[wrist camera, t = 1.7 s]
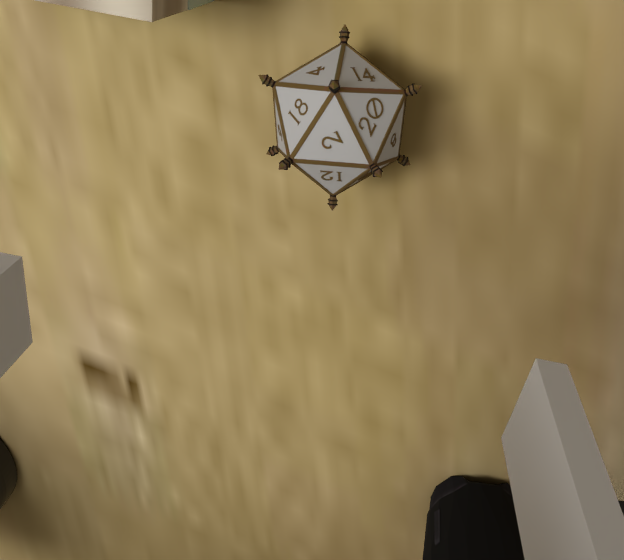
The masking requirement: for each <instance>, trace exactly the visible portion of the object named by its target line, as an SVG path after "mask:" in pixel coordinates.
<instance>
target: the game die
mask: <svg viewBox="0 0 624 560" xmlns="http://www.w3.org/2000/svg"><path fill="white" fill-rule="evenodd" d="M339 33H340V36H339V38H340V39H341V43H340V44H338V45H336V46H335V47H333V48H331V49H330V50H328V51H326V52H324V53H323V54H321V55H319V56H318V57H316V58H314V59H313V60H311V61H309V62H308V63H306V64H304V65H302V66H301V67H299V68H297V69H296V70H294V71H292V72H291V73H289V74H287V75H286V76H284V77H282V78H280V79H279V80H277V81H274V80H273V79H272V77H269V76H268V75H259V77H260V79H261V81H262V84H265V85H266V86H271V87H272V88H273V101H274V114H275V127H276V139H277V146H273V147H269V150H268V152H267V154H268V155H271V156H274V155H275V154H278V152H280V153H281V154H282V155H283V156H284V157H285V159H284V160H282V161H281V162H280V163H279V164H280V165H279V169H284V170H288V168H290V165H291V164H292V165H294V166H295V167H296V168H297V169H299V170H300V171H301V172H302V173H304V174H305V175H306V176H307V177H309V178H310V179H311V180H312V181H314V182H315V183H316V184H317V185H319V186H320V187H321V188H322V189H323V190H325V191H326V192H327V193H328V194H330V198H329V199H328V200H329V203H328V205H329V206H330V208H331V209H332V210H333V209H334V208H335V206H336V205H337V201H338V200H337V199H336V195H338V194H339V193H341V192H343V191H345V190H346V189H348V188H350V187H351V186H353V185H355V184H357V183H358V182H360V181H362V180H363V179H365V178H367V177H369V176H370V175H372V174H373V177H381V175H382V172H383V171H382V170H381V169H382V168H384V167H386V166H387V165H389V164H391V163H392V162H394V161H396V160H398V163H400V164H401V165H403V166H405V165H410V163H409V160H408V157H405V155H403V156H402V155H400V154H399V153H400V145H401V137H402V129H403V121H404V113H405V105H406V97H407V96H408V95H412V96H413V94H415V93H416V94H417V92H418V90H419V89H420V87H421V86H422V85H415V84H412V85H411V86H408V87H407V88H406V89H404V88H402V87H401V86H400V85H399V84H397V83H396V82H395V81H394V80H392V79H391V78H390V77H389V76H387V75H386V74H385V73H384V72H382V71H381V70H380V69H379V68H377V67H376V66H375V65H374V64H372V63H371V62H370V61H369V60H367V59H366V58H365V57H364V56H362V55H361V54H360V53H359V52H357V51H356V50H355V49H354V48H352V47H351V46H350V45H348V44H347V41H348V38H349V33H350V32H349V31H348V29H347V27H346V25H344V27H343V28H342V30H341V31H340V32H339Z"/></svg>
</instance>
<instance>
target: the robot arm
mask: <svg viewBox="0 0 624 560" xmlns="http://www.w3.org/2000/svg"><path fill="white" fill-rule="evenodd" d="M31 343H32V334H31V326H30V318H29V310H28V302H27V294H26V286H25V278H24V269H23V261H22V257H21V256H16V255H11V254H6V253H1V252H0V378H1V377H2V376H3V374H4V373H5V372H6V371H7V370H8V369H9V368H10V367H11V366H12V365H13V363H14V362H15V361H16V360H17V359H18V358H19V357H20V356H21V355H22V353H23V352H24V351H25V350H26V349H27V348H28V347H29V346H30V345H31ZM502 444H503V449H504V454H505V459H506V465H507V470H508V475H509V480H510V486H511V491H512V496H513V501H514V507H515V512H516V517H517V522H518V528H519V533H520V538H521V543H522V549H523V554H524V559H525V560H624V501H619V500H618V499H617V497H616V494H615V491H614V489H613V486H612V483H611V481H610V478H609V475H608V473H607V470H606V467H605V465H604V462H603V459H602V457H601V454H600V451H599V449H598V446H597V443H596V440H595V438H594V435H593V432H592V430H591V427H590V424H589V422H588V419H587V416H586V414H585V411H584V408H583V406H582V403H581V400H580V398H579V395H578V392H577V390H576V387H575V384H574V382H573V379H572V376H571V374H570V371H569V368H568V366H567V364H562V363H557V362H552V361H547V360H542V359H537V358H536V359H535V362H534V364H533V366H532V369H531V371H530V373H529V375H528V378H527V380H526V382H525V385H524V387H523V389H522V392H521V394H520V396H519V398H518V401H517V403H516V405H515V408H514V410H513V412H512V415H511V417H510V419H509V421H508V424H507V426H506V428H505V431H504V433H503V435H502ZM16 481H17V472H16V467H15V463H14V461H13V458H12V456H11V454H10V453H9V451H8V449H7V448H6V446H5V445H4V444H3V442H2V441H1V440H0V509H1V508H2V506H3V505H4V503H5V502H6V500H7V499H8V498H9V496H10V495H11V493H12V492H13V490H14V488H15V485H16Z"/></svg>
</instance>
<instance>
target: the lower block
mask: <svg viewBox="0 0 624 560" xmlns="http://www.w3.org/2000/svg"><path fill="white" fill-rule="evenodd" d="M213 1H214V0H188V10H191V9H193V8H196V7H199V6H202V5H204V4H207V3H210V2H213Z"/></svg>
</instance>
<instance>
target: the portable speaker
mask: <svg viewBox="0 0 624 560" xmlns="http://www.w3.org/2000/svg"><path fill="white" fill-rule="evenodd" d="M423 560H525V559H524V554H523V549H522V543H521V538H520V533H519V528H518V522H517V517H516V512H515V507H514V501H513V496H512V491H511V486H510V485H509V484H508V483H504V484H500V485H493V484H485V483H478V482H470V481H467V480H466V479H465V478H464V477H462V476H451V477H450V478H448V479H447V480H445V481H444V482H442V483H441V484H439V485H438V486H436V488H435V490H434V492H433V494H432V496H431V501H430V509H429V512H428V514H427V523H426V532H425V542H424V552H423Z"/></svg>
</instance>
